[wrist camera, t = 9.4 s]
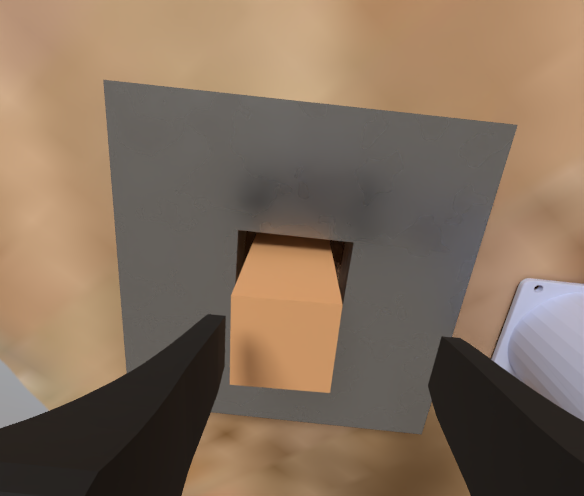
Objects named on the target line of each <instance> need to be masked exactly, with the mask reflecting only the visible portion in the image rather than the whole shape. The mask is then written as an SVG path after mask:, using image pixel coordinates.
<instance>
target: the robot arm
mask: <svg viewBox="0 0 584 496" xmlns="http://www.w3.org/2000/svg"><path fill="white" fill-rule="evenodd" d="M537 285H539V287H538V288H537V289H536V290H534V288H535V287H536V286H537ZM225 328H226V316H223V315H213V314H207V315H206V316H205V317H203V318H202V319H201V320H200V321H198V322H197V323H196V324H195V325H194V326H192V327H191V328H190V329H189V330H188V331H186V332H185V333H184V334H183V335H181V336H180V337H179V338H178V339H176V340H175V341H174V342H173V343H171V344H170V345H169V346H167V347H166V348H165V349H163V350H162V351H160V352H159V353H158V354H156V355H155V356H153V357H152V358H151V359H149V360H148V361H146V362H145V363H143V364H142V365H140V366H139V367H137V368H135V369H134V370H132V371H130V372H129V373H127V374H125V375H123V376H122V377H120V378H118V379H116V380H115V381H113V382H111V383H109V384H107V385H105V386H103V387H101V388H99V389H97V390H95V391H93V392H91V393H89V394H87V395H85V396H83V397H81V398H78V399H76V400H74V401H72V402H69V403H67V404H65V405H62V406H60V407H58V408H55V409H53V410H50V411H48V412H45V413H43V414H40V415H38V416H35V417H33V418H29V419H27V420H24V421H21V422H18V423H15V424H12V425H9V426H6V427H3V428H0V496H181V495H182V491H183V488H184V484H185V481H186V477H187V474H188V471H189V468H190V465H191V462H192V459H193V457H194V454H195V451H196V449H197V446H198V444H199V441H200V438H201V436H202V433H203V431H204V428H205V426H206V423H207V420H208V418H209V415H210V413H211V410H212V407H213V405H214V402H215V400H216V397H217V394H218V390H219V387H220V383H221V379H222V375H223V371H224V367H225ZM428 388H429V392H430V396H431V399H432V403H433V406H434V410H435V413H436V416H437V418H438V421H439V423H440V425H441V428H442V430H443V432H444V435H445V437H446V439H447V441H448V444H449V446H450V448H451V451H452V453H453V455H454V457H455V460H456V462H457V464H458V466H459V469H460V471H461V473H462V475H463V478H464V480H465V482H466V484H467V487H468V489H469V492H470V495H471V496H584V284H579V283H570V282H561V281H551V280H542V279H533V278H526V279H524V280H522V281H521V282H520V284H519V286H518V288H517V291H516V294H515V297H514V299H513V302H512V305H511V307H510V310H509V313H508V316H507V318H506V321H505V324H504V326H503V329H502V332H501V335H500V337H499V340H498V343H497V345H496V348H495V351H494V354H493V356H492V359H490V358H488V357H487V356H486V355H484V354H483V353H482V352H480V351H479V350H477V349H476V348H474V347H473V346H472V345H470V344H469V343H467V342H466V341H464V340H462V339H461V338H454V337H443V336H441V340H440V344H439V347H438V351H437V354H436V358H435V362H434V365H433V369H432V372H431V376H430V380H429V383H428Z"/></svg>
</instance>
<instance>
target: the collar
mask: <svg viewBox="0 0 584 496" xmlns="http://www.w3.org/2000/svg"><path fill="white" fill-rule="evenodd" d="M103 81H104V93H105V106H106V119H107V131H108V144H109V156H110V169H111V181H112V194H113V206H114V219H115V232H116V244H117V257H118V269H119V282H120V294H121V307H122V320H123V332H124V345H125V357H126V370H127V373H129V372H130V371H132V370H134V369H135V368H137V367H139V366H140V365H142V364H143V363H145V362H146V361H148V360H149V359H151V358H152V357H153V356H155V355H156V354H158V353H159V352H160V351H162V350H163V349H165V348H166V347H167V346H169V345H170V344H171V343H173V342H174V341H175V340H176V339H178V338H179V337H180V336H181V335H183V334H184V333H185V332H186V331H188V330H189V329H190V328H191V327H192V326H194V325H195V324H196V323H197V322H198V321H200V320H201V319H202V318H203V317H205V316H206V315H207V314H213V315H223V316H226V328H225V367H224V371H223V375H222V379H221V383H220V387H219V390H218V394H217V397H216V400H215V402H214V405H213V407H212V410H211V412H214V413H224V414H233V415H243V416H252V417H262V418H271V419H280V420H290V421H299V422H309V423H318V424H328V425H337V426H347V427H356V428H366V429H375V430H385V431H394V432H404V433H413V434H422V431H423V428H424V425H425V421H426V418H427V415H428V412H429V409H430V405H431V402H432V399H431V396H430V392H429V388H428V383H429V380H430V376H431V372H432V369H433V365H434V362H435V358H436V354H437V351H438V347H439V344H440V340H441V336H443V337H452V334H453V331H454V328H455V325H456V322H457V318H458V315H459V312H460V309H461V305H462V302H463V299H464V296H465V293H466V289H467V286H468V283H469V280H470V277H471V273H472V270H473V267H474V264H475V260H476V257H477V254H478V251H479V248H480V244H481V241H482V238H483V235H484V231H485V228H486V225H487V222H488V219H489V215H490V212H491V209H492V206H493V202H494V199H495V196H496V193H497V190H498V186H499V183H500V180H501V177H502V173H503V170H504V167H505V164H506V161H507V157H508V154H509V151H510V148H511V144H512V141H513V138H514V135H515V132H516V128H517V125H513V124H504V123H494V122H485V121H476V120H467V119H458V118H449V117H439V116H430V115H421V114H412V113H403V112H394V111H384V110H375V109H366V108H357V107H348V106H339V105H329V104H320V103H311V102H302V101H293V100H284V99H274V98H265V97H256V96H247V95H238V94H229V93H219V92H210V91H201V90H192V89H183V88H174V87H164V86H155V85H146V84H137V83H128V82H119V81H109V80H103ZM246 231H252V232H262V233H271V234H280V235H289V236H299V237H308V238H317V239H327V240H336V241H345V242H344V248H343V254H342V260H341V266H340V273H339V279H338V285H339V290H340V295H341V299H342V304H343V305H342V312H341V319H340V326H339V333H338V340H337V347H336V354H335V361H334V368H333V375H332V382H331V389H330V393H324V392H312V391H300V390H288V389H276V388H264V387H252V386H240V385H230V330H231V294H232V292H233V289H234V287H235V285H236V282H237V280H238V277H239V275H240V272H241V270H242V268H243V265H244V259H245V242H246Z"/></svg>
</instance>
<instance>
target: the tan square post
mask: <svg viewBox="0 0 584 496" xmlns="http://www.w3.org/2000/svg"><path fill="white" fill-rule="evenodd" d="M342 305H343V304H342V299H341V295H340V290H339V285H338V280H337V275H336V270H335V265H334V260H333V256H332V251H331V246H330V241H329V240H327V239H317V238H308V237H299V236H289V235H277V234H265V233H257V234H256V236H255V238H254V241H253V243H252V246H251V248H250V251H249V253H248V255H247V258H246V260H245V263H244V265H243V268H242V270H241V272H240V275H239V277H238V280H237V282H236V285H235V287H234V289H233V292H232V294H231V330H230V385H240V386H252V387H264V388H276V389H288V390H300V391H312V392H324V393H330V389H331V382H332V375H333V368H334V361H335V354H336V347H337V340H338V333H339V326H340V319H341V312H342Z"/></svg>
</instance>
